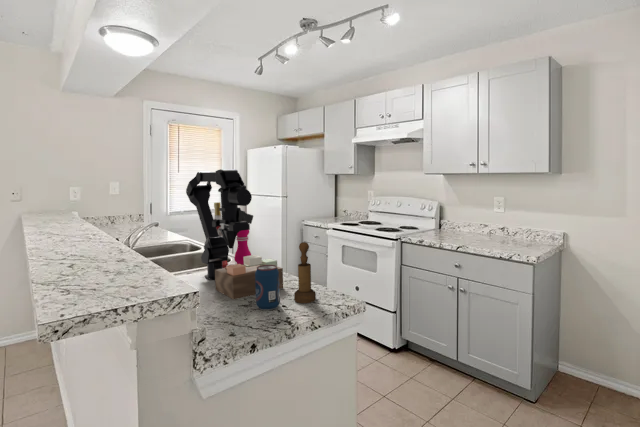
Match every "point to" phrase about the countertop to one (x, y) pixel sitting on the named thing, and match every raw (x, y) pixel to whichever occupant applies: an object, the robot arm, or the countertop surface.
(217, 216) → the liquor
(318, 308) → the countertop surface
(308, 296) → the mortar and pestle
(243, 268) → the terracotta key
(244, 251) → the pepper mill
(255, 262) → the cream key
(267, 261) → the sage key
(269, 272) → the soda can
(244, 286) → the keypad console
